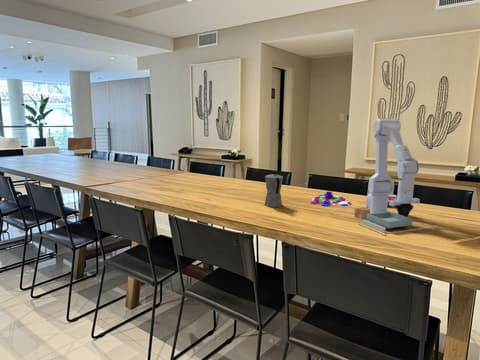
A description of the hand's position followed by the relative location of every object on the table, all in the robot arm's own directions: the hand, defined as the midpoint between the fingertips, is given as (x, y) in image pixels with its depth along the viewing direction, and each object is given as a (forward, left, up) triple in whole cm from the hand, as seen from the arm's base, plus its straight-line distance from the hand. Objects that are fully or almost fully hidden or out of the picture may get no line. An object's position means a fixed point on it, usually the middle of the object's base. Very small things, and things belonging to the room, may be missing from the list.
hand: (402, 221), depth 142 cm
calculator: (-32, +24, -3) cm, 40 cm away
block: (-14, -9, -2) cm, 17 cm away
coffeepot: (-49, -35, -2) cm, 60 cm away
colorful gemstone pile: (-47, -1, -3) cm, 47 cm away
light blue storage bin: (0, -8, -1) cm, 8 cm away
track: (0, -2, -2) cm, 3 cm away
